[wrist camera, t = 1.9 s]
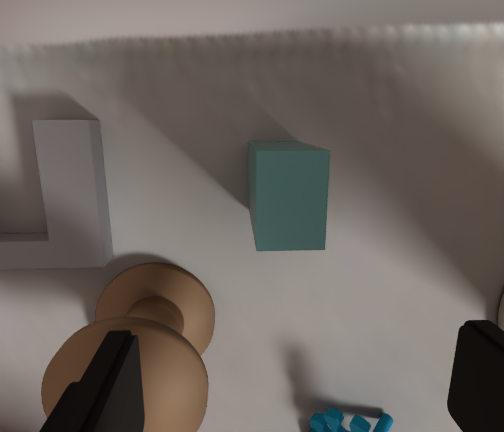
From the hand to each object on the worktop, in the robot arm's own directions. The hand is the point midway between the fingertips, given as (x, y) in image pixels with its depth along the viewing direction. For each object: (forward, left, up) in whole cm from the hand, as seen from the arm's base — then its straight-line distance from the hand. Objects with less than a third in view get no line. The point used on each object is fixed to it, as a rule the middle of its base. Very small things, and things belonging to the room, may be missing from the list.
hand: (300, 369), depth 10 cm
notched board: (+17, -2, -18) cm, 24 cm away
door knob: (+8, +8, -18) cm, 21 cm away
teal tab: (-1, -3, -18) cm, 18 cm away
